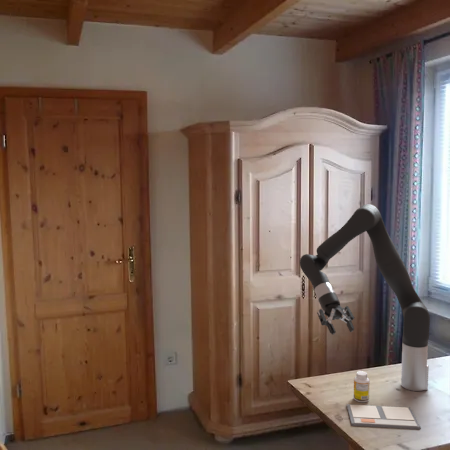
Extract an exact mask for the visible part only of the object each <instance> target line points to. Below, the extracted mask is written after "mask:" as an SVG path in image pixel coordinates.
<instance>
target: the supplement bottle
mask: <svg viewBox="0 0 450 450" xmlns="http://www.w3.org/2000/svg"><path fill="white" fill-rule="evenodd" d="M368 376H369V375H368V373H367V371H362V370H361V371H360V370H357V372H356V373H355V377H354V378H353V399H354V400H355V401H356V402H359V403H367V402H369V400H370V378H369V377H368Z"/></svg>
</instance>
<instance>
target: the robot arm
mask: <svg viewBox="0 0 450 450" xmlns="http://www.w3.org/2000/svg"><path fill="white" fill-rule="evenodd" d="M364 233H367V235H368V237H369V238H370V241H371V244H372V248H373V253H374V259H375V262H376V265H377V266H378V269H379V271H380V273H381V275H382V277H383V279H384V281H385V282H386V283H387V284H388V285H387V286H389V288H390V289H391V290H392V291H393V293H394V295H395V297H396V298H397V300H398V301H397V302H398V304H399V305H400V309H401V311H402V312H401V313H402V315H403V333H402V334H403V335H402V347H401V348H402V349H401V350H402V351H401V375H400V377H401V378H400V385H401V387H402V388H404V389H406V390H408V391H412V392H413V391H414V392H421V391H428V390H429V389H428V388H429V365H428V351H429V350H428V349H429V347H428V345H429V339H430V338H429V337H430V322H431V317H430V313H429V311H428V308H427V306H426V305H425V303H424V302H423V301H422V299H421V298H420V296H419V295H418V293H417V292H416V290H415V288H414V286H413V283H412V281H411V277H410V275H409V272H408V269H407V267H406V265H405V262H404V261H403V259H402V257H401V255H400V253H399V252H398V250H397V248H396V246H395V244H394V242H393V240H392V239H391V237H390V235H389V233H388V230H387V227H386V226H385V222H384V220H383V217H382V215H381V212H380V210H379V209H378V208H377V207H376V206H375V205H374V204H370V203H369V204H368V203H367V204H364V205H362V206H360V207H358V208H357V209H356V210H355V211H354V212H353V214H352V215H351V216H350V217H349V219H348V220H347V221H346V222H345V224H344V225H342V226H341V227H340V229H338V230H337V231H336V232H334V233H333V234H332V235H331V236H329V237H327V239H326V240H324V241H323V242H322V243H321V244H319V246H317V248H316V255H314V254H309V253H306V254H303V255H302V256H301V257H300V258H299V266H300V270H301V271H302V273H303V274H304V276H305V277H306V278H307V279H308V281H310V283H311V285H312V287H313V290H314V293H315V296H316V298H317V302H318V303H319V304H320V307H321V308H319V310H318V311H317V312H316V314H317V316H318V319H319V322H320V324H321V326H325V327H327V329H328V331H329V333H330V334H331V335H332V336H333V335H335V334H336V333H337V332H336V329H335V326H334V325H333V323H332V321H335V320H341V321H342V322H344V323H346V324H345V325H346V327H347V329H348V331H349V333H353V331H354V330H355V326H354V325H353V322H352V321H353V320H355V317H354V314H353V312H352V311H351V309H350V307H349V306H348V305H346V306H344V307H343V306H341V303H340V300H339V297H338V296H337V293H336V291H335V288H334V287H333V286H332V284H331V282H330V279H329V278H328V276H327V274H326V273H325V272H324V271H323V270H324V269H325V267H326V266H327V264H328V263H329V262H330V260H331V259H332V258H333V257H334V256H336V255H337V254H338V253H340V251H342V250H343V249H344V247H346V246H347V245H348V244H349V243H350V242H351V241H352V240H354V239H355V238H356V237H358V236H360V235H361V234H364Z"/></svg>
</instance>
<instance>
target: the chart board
mask: <svg viewBox="0 0 450 450" xmlns="http://www.w3.org/2000/svg"><path fill="white" fill-rule="evenodd" d="M346 409H347V412H348V417H349V419H350V421H349V422H350V424H351V426H355V427H356V426H357V427H369V428H371V427H372V428H388V429H389V428H391V429H405V430H406V429H407V430H408V429H409V430H421V428H422V427H421V424H420V423H419V421H418V419H417V416H415V414H414V412H413V409H412V408H411V407H410V406H395V405H394V406H393V405H392V406H390V405H372V404H371V405H370V404H355V403H354V404H350V403H346Z"/></svg>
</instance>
